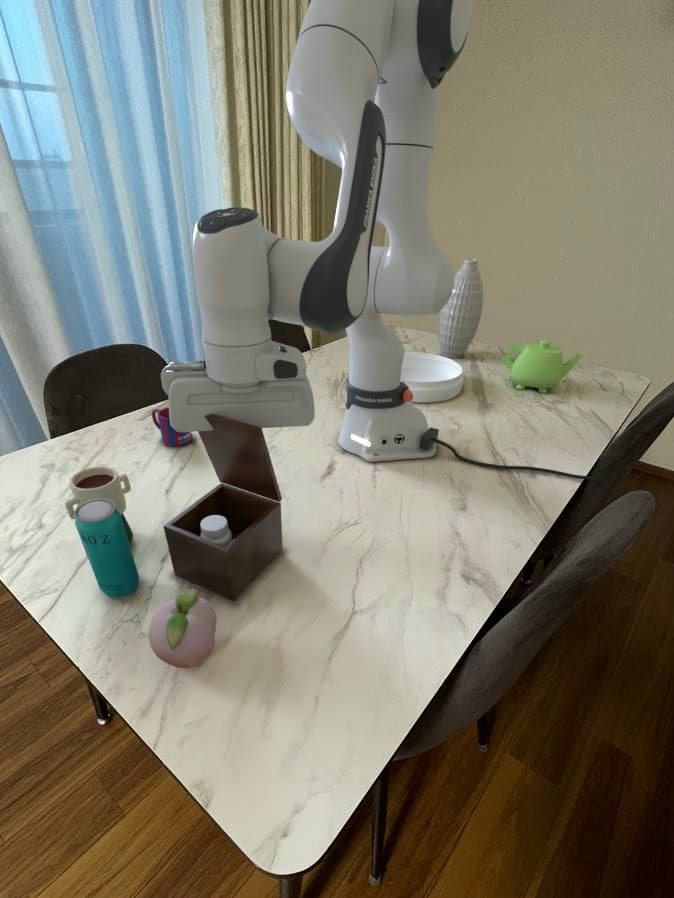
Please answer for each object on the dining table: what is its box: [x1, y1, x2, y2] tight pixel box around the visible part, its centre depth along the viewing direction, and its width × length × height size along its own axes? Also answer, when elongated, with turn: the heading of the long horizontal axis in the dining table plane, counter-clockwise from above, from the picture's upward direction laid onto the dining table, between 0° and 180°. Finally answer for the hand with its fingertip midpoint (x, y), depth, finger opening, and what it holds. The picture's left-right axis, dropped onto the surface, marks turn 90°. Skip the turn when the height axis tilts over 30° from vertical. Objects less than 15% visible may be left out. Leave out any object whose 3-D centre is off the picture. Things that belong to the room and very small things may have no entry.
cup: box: [151, 406, 193, 447], centre depth 108 cm, size 7×10×7 cm
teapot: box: [502, 339, 583, 394], centre depth 134 cm, size 20×13×13 cm
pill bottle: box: [200, 515, 232, 547], centre depth 72 cm, size 5×5×8 cm
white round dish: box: [401, 351, 464, 404], centre depth 136 cm, size 27×27×6 cm
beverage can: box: [74, 499, 140, 601], centre depth 67 cm, size 6×6×15 cm
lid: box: [197, 414, 283, 503], centre depth 69 cm, size 14×12×1 cm
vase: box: [438, 258, 484, 359], centre depth 151 cm, size 13×13×28 cm
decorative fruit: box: [147, 588, 218, 669], centre depth 59 cm, size 9×8×10 cm
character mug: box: [64, 466, 134, 545], centre depth 76 cm, size 11×7×13 cm, turn 142°
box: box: [162, 482, 283, 603], centre depth 73 cm, size 14×12×10 cm
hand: (246, 453), depth 70 cm, fingers closed
